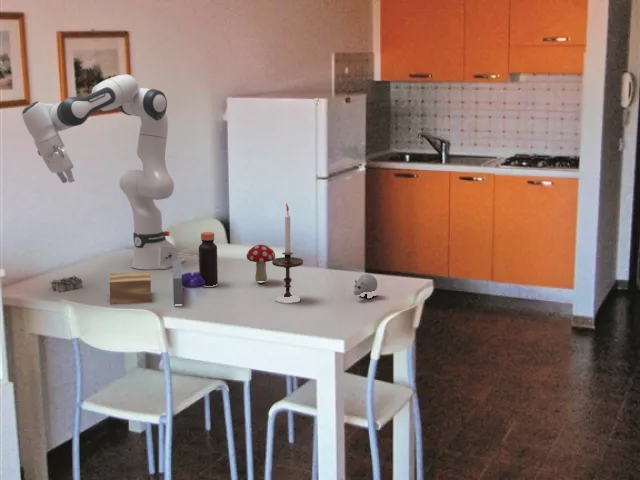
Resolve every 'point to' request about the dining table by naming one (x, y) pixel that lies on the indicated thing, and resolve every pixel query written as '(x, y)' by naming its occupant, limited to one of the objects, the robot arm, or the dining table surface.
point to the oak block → (130, 288)
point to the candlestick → (287, 257)
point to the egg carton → (66, 283)
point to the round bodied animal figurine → (365, 284)
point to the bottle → (208, 259)
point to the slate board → (177, 282)
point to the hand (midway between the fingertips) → (68, 182)
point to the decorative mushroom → (260, 260)
